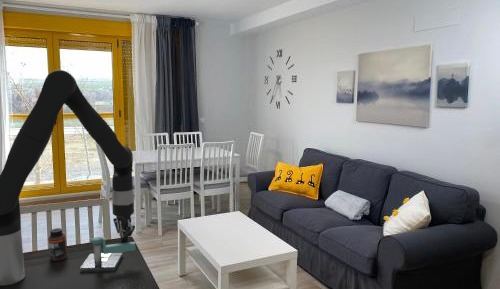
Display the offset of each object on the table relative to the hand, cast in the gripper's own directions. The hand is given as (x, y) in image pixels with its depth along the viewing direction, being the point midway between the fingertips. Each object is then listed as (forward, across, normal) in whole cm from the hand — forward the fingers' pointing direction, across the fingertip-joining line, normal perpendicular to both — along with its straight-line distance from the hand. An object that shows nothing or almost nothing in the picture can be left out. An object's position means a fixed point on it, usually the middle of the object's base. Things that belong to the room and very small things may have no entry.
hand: (124, 245), depth 148 cm
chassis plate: (+7, -4, -7) cm, 10 cm away
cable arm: (+1, +1, -5) cm, 5 cm away
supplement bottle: (+7, -21, -17) cm, 28 cm away
